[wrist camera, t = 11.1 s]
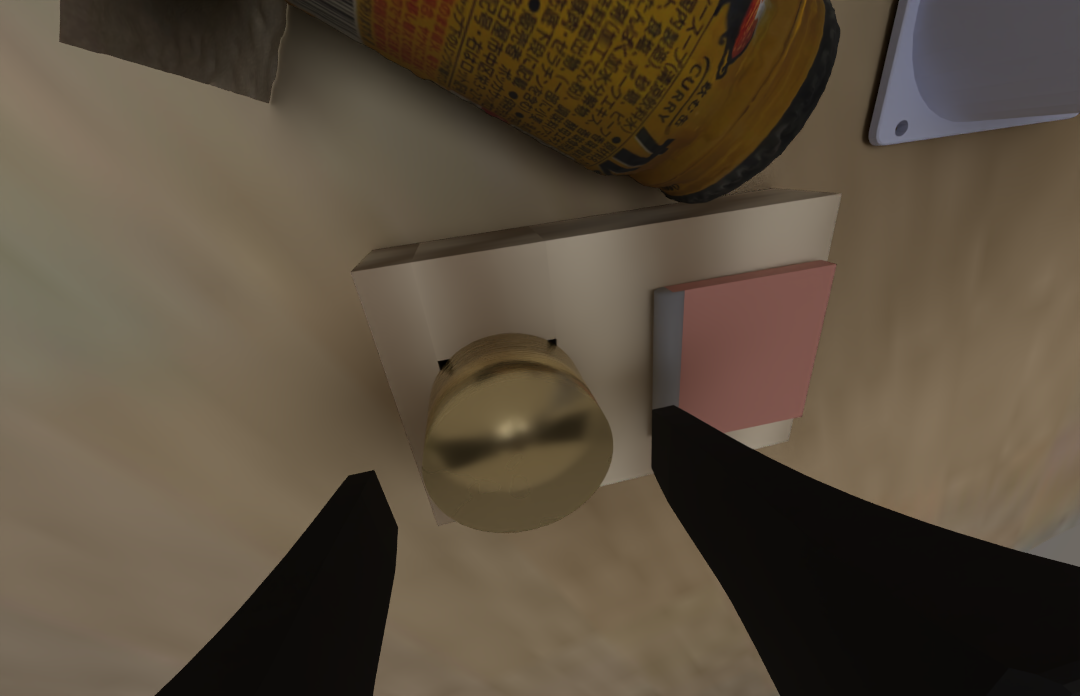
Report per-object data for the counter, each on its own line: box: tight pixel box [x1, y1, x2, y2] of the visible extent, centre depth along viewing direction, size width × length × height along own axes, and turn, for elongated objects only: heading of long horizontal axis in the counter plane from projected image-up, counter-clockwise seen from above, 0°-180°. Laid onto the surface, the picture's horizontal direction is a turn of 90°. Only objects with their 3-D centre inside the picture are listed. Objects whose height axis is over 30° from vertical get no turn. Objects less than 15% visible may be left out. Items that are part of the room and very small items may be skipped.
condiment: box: [59, 0, 840, 204], centre depth 9 cm, size 7×8×12 cm
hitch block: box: [351, 188, 842, 526], centre depth 15 cm, size 15×10×3 cm, turn 97°
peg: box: [422, 333, 613, 533], centre depth 13 cm, size 5×5×6 cm
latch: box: [652, 260, 837, 433], centre depth 14 cm, size 6×6×1 cm
